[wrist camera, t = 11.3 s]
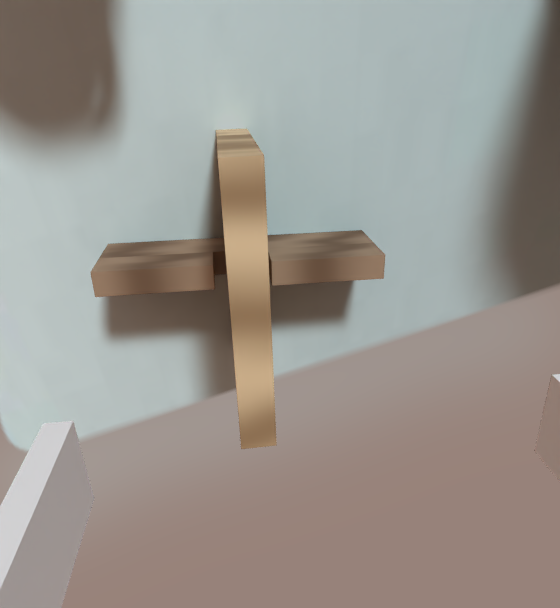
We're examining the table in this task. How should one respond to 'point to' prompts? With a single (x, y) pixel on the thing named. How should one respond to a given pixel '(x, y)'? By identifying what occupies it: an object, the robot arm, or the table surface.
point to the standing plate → (212, 261)
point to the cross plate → (248, 282)
